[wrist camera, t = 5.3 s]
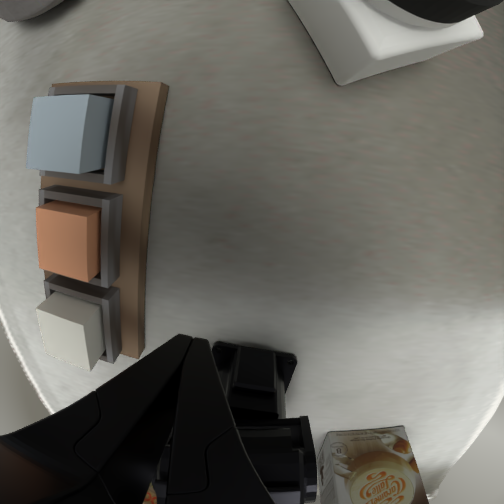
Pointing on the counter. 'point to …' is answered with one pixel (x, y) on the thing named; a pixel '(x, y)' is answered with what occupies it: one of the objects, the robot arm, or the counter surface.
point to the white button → (72, 329)
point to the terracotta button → (69, 239)
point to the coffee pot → (24, 8)
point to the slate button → (69, 133)
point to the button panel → (115, 208)
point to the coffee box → (369, 468)
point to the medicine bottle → (387, 32)
